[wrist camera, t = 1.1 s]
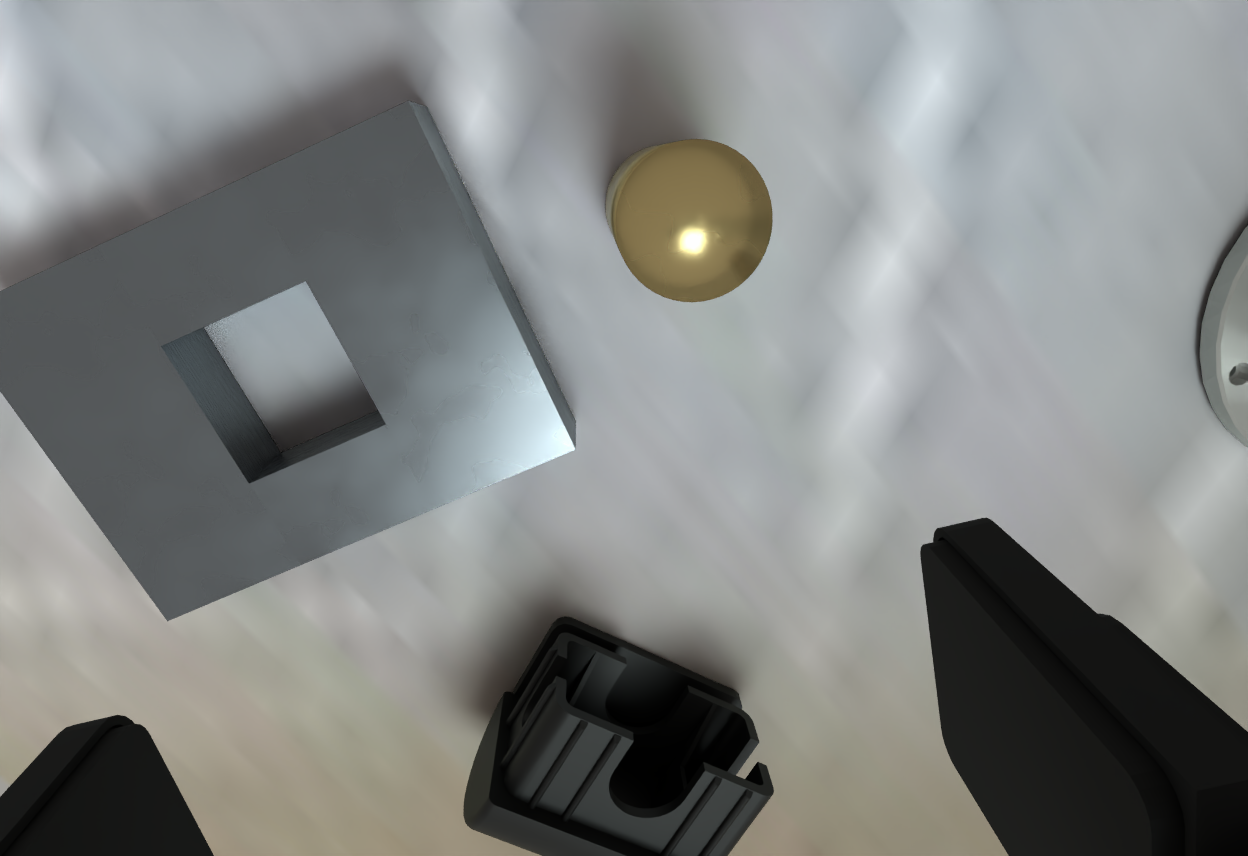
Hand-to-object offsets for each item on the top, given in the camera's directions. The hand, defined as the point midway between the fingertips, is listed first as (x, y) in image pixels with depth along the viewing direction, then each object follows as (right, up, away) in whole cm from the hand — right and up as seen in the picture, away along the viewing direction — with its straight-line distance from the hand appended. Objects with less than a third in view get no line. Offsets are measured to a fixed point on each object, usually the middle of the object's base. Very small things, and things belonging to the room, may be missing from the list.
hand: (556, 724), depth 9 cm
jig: (-11, +6, +19) cm, 23 cm away
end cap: (0, -9, +25) cm, 27 cm away
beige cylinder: (+2, +11, +18) cm, 22 cm away
